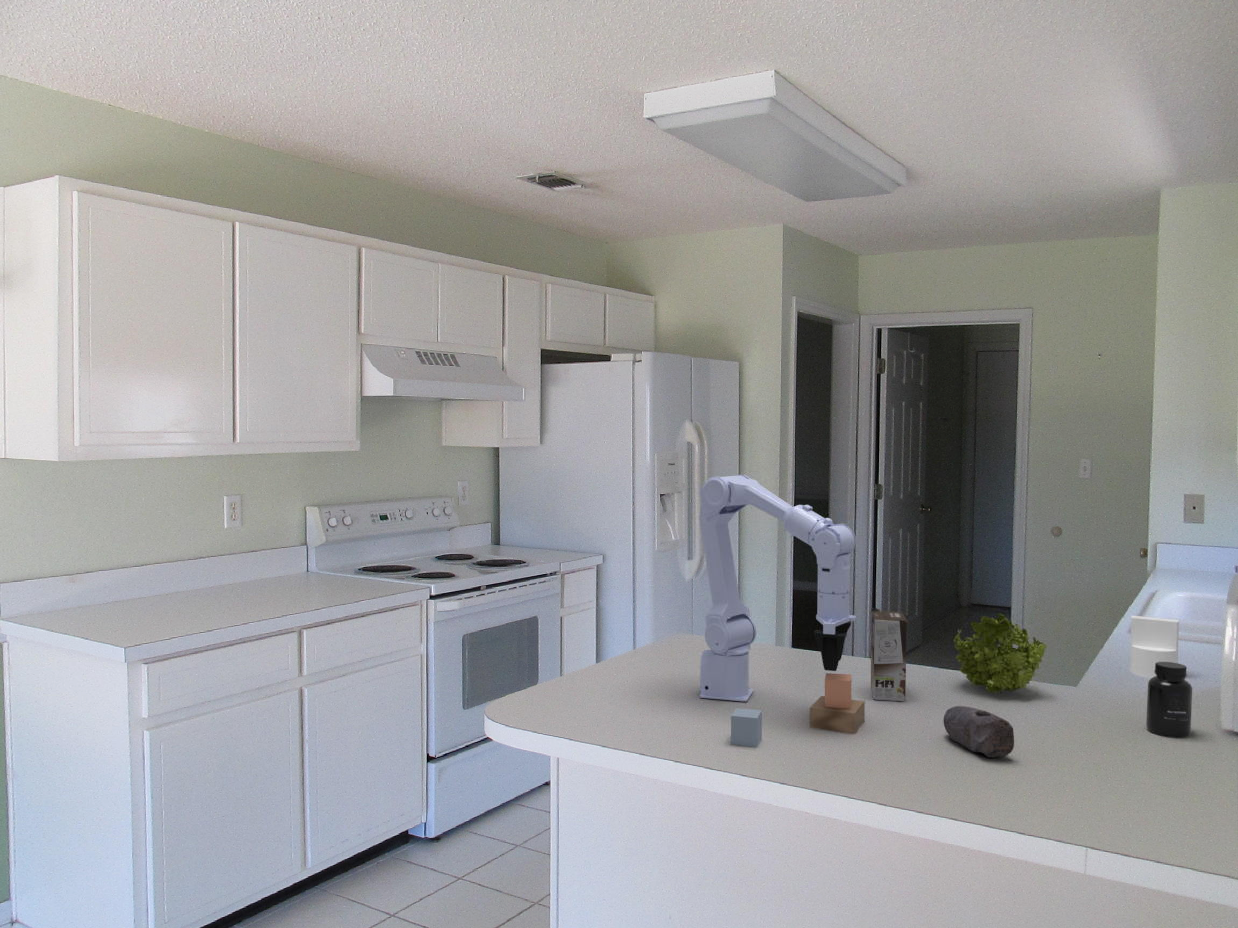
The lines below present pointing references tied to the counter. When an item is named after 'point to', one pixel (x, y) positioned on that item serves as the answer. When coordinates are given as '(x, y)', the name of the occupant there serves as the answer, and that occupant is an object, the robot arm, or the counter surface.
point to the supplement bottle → (1169, 701)
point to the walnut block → (837, 716)
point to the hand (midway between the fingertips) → (832, 664)
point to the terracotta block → (838, 690)
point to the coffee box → (888, 655)
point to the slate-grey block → (746, 727)
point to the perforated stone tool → (979, 731)
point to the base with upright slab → (1152, 644)
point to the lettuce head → (999, 655)
